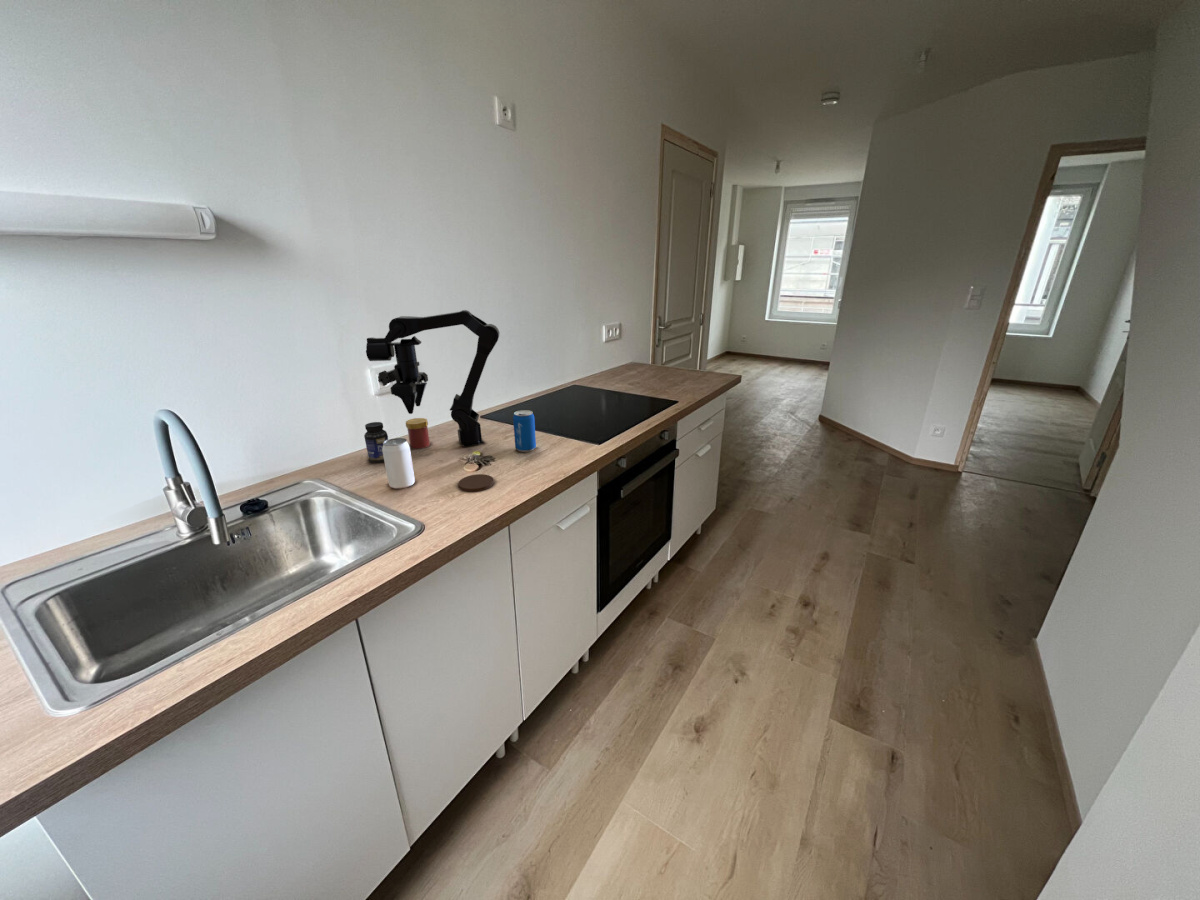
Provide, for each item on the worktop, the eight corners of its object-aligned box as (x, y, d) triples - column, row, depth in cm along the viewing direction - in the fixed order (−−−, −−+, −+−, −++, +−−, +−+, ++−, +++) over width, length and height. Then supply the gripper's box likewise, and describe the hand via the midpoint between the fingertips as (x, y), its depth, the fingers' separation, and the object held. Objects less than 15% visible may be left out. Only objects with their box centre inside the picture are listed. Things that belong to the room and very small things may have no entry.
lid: (425, 421, 148) (424, 416, 147) (429, 426, 143) (429, 422, 142) (404, 424, 145) (403, 420, 144) (408, 430, 140) (407, 425, 139)
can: (389, 491, 115) (380, 447, 111) (389, 481, 121) (381, 439, 117) (416, 486, 118) (408, 443, 113) (414, 477, 123) (408, 435, 119)
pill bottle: (382, 463, 132) (376, 428, 128) (364, 462, 133) (357, 426, 129) (395, 456, 138) (389, 421, 134) (378, 454, 139) (371, 420, 135)
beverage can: (511, 451, 141) (508, 414, 137) (522, 444, 147) (519, 408, 142) (529, 454, 139) (527, 416, 135) (539, 447, 145) (537, 411, 140)
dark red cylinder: (427, 441, 150) (424, 418, 147) (431, 446, 145) (428, 423, 142) (408, 444, 147) (404, 421, 144) (412, 450, 142) (408, 426, 140)
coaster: (487, 474, 125) (487, 471, 125) (498, 486, 118) (498, 483, 118) (454, 481, 121) (454, 478, 120) (464, 494, 114) (463, 491, 113)
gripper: (389, 355, 144) (397, 402, 150) (367, 366, 127) (377, 419, 132) (425, 354, 145) (431, 401, 151) (408, 365, 128) (416, 418, 133)
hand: (414, 409), depth 142 cm, fingers open, 8 cm apart
